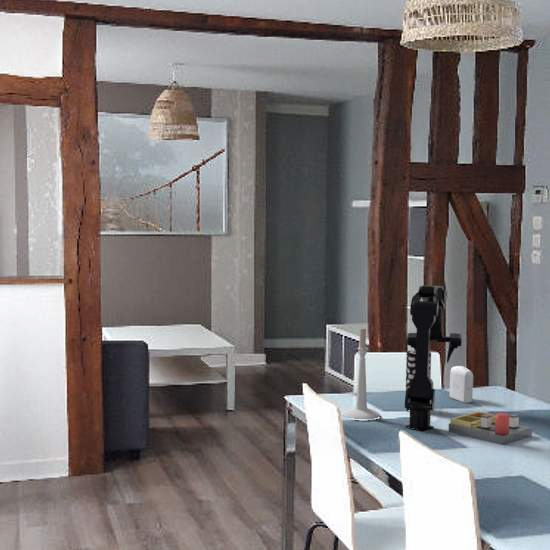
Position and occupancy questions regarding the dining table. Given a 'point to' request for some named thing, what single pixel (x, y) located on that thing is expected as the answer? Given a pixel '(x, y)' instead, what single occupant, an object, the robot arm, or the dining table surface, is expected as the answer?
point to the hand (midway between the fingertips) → (434, 362)
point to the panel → (486, 429)
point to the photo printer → (461, 384)
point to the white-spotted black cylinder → (413, 368)
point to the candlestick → (361, 387)
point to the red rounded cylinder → (502, 423)
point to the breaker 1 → (486, 420)
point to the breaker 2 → (513, 420)
